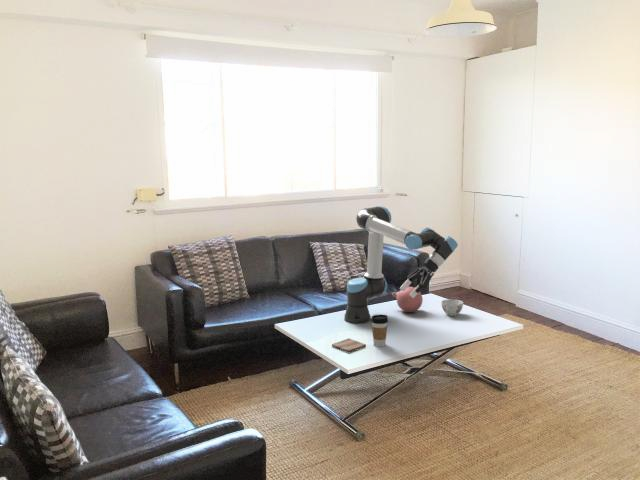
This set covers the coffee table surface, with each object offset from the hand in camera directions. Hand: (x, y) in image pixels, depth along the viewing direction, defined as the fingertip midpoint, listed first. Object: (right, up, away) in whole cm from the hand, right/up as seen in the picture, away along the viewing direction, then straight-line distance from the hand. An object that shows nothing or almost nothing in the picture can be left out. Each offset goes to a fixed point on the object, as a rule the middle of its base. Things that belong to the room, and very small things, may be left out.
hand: (406, 293), depth 275 cm
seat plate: (-30, -26, -5) cm, 40 cm away
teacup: (+33, -17, +41) cm, 55 cm away
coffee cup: (-14, -26, -3) cm, 30 cm away
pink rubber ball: (+8, -16, +51) cm, 54 cm away
